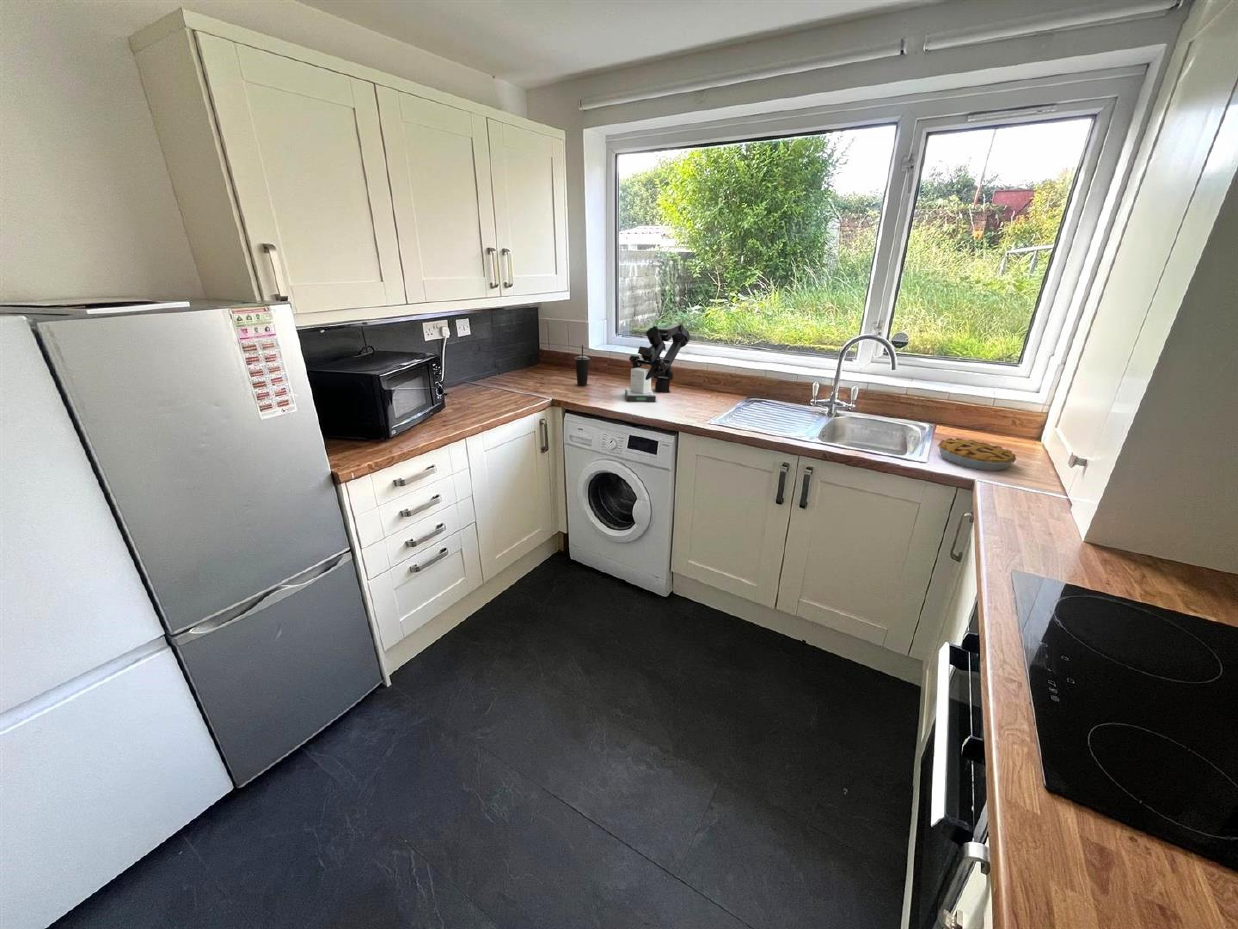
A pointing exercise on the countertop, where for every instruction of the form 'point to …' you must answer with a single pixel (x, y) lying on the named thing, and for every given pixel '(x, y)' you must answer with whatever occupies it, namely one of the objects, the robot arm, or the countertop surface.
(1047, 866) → the countertop surface
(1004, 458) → the pie
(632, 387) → the small box
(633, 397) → the kitchen scale
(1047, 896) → the countertop surface
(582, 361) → the drinking cup
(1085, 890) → the countertop surface
